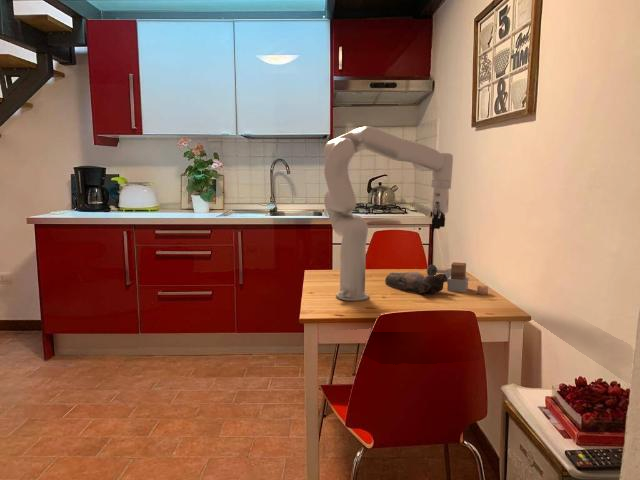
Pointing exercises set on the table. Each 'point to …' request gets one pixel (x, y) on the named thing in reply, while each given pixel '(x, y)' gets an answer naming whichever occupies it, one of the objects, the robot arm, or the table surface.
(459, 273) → the brown metal block
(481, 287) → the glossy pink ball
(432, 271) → the headphones
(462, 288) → the grey block
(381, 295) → the table surface
